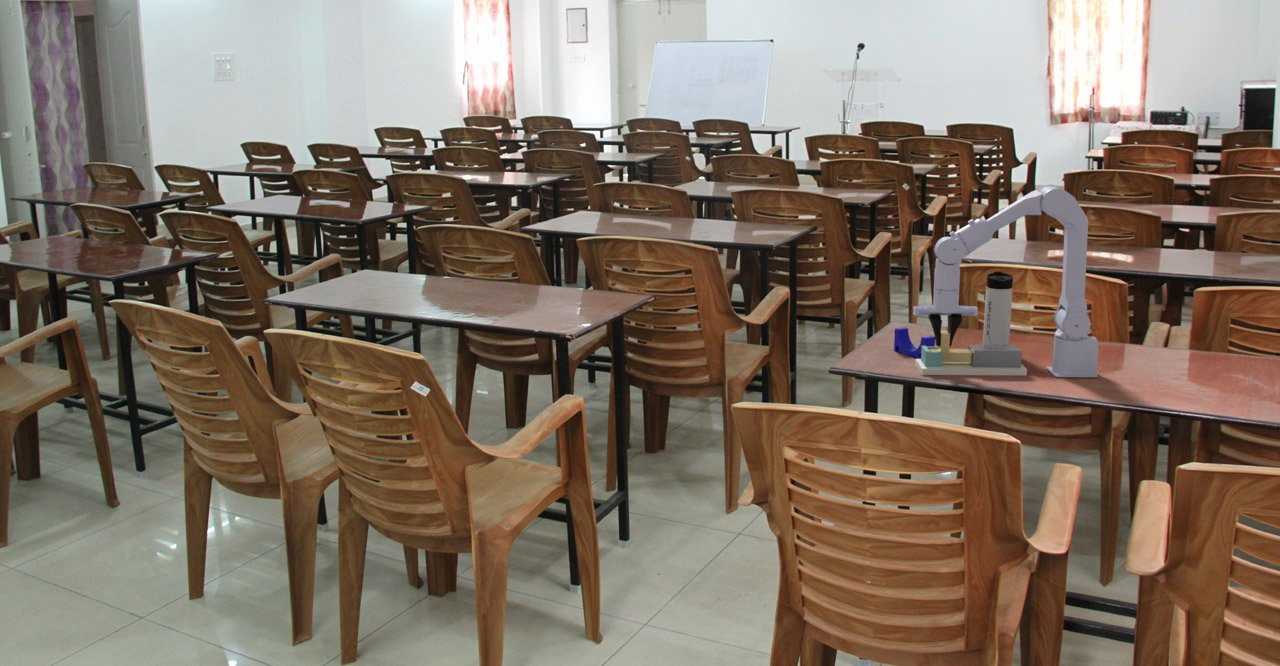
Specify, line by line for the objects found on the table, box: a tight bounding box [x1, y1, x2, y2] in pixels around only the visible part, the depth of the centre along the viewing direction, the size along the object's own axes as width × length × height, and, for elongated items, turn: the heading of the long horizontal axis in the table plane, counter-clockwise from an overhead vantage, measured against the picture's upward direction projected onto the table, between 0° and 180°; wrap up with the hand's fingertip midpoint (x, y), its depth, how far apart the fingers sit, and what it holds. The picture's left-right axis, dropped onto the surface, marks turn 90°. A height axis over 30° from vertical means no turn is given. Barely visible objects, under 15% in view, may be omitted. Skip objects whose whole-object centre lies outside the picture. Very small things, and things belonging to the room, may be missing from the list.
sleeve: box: [967, 344, 1023, 368], centre depth 263 cm, size 11×6×4 cm, turn 86°
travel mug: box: [982, 271, 1014, 345], centre depth 278 cm, size 6×7×20 cm
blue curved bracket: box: [893, 326, 936, 359], centre depth 278 cm, size 12×4×6 cm, turn 25°
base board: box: [914, 358, 1028, 377], centre depth 264 cm, size 24×9×2 cm, turn 86°
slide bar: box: [929, 329, 973, 363], centre depth 263 cm, size 15×4×7 cm, turn 86°
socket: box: [921, 346, 943, 367], centre depth 264 cm, size 4×6×4 cm
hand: (943, 345), depth 264 cm, fingers closed on slide bar, 2 cm apart
